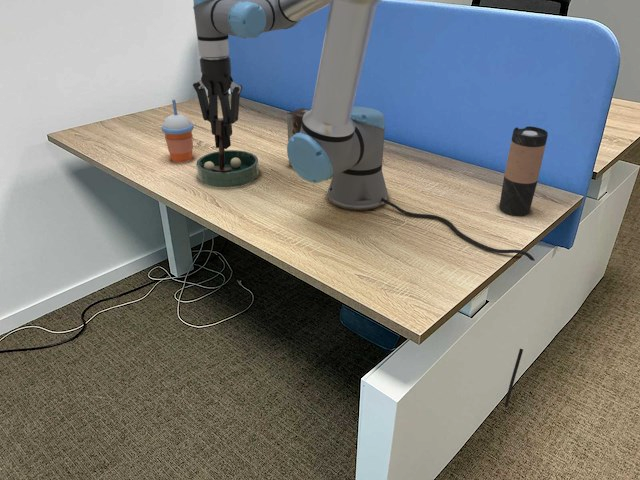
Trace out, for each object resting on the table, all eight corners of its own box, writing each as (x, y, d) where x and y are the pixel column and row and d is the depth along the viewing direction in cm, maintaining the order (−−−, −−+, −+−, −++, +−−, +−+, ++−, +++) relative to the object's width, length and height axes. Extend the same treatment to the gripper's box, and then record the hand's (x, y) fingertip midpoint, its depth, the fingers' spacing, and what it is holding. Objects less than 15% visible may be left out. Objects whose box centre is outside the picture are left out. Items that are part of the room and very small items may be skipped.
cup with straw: (190, 166, 152) (181, 105, 143) (161, 164, 154) (151, 103, 145) (202, 155, 160) (195, 96, 151) (174, 153, 162) (166, 94, 152)
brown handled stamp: (234, 174, 146) (234, 118, 140) (226, 179, 142) (225, 122, 135) (218, 172, 147) (217, 116, 141) (208, 176, 143) (207, 119, 137)
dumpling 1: (212, 173, 146) (212, 163, 145) (202, 172, 147) (201, 162, 145) (216, 170, 149) (215, 160, 148) (206, 170, 149) (205, 159, 148)
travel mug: (526, 219, 125) (544, 139, 115) (494, 211, 128) (509, 133, 118) (533, 206, 130) (551, 129, 120) (502, 199, 134) (517, 123, 124)
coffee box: (325, 168, 151) (326, 113, 143) (310, 175, 147) (309, 119, 139) (303, 160, 157) (302, 107, 148) (287, 166, 153) (286, 112, 144)
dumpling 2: (239, 170, 150) (239, 166, 148) (229, 168, 150) (229, 163, 148) (242, 161, 152) (242, 156, 149) (232, 159, 151) (231, 154, 149)
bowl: (271, 174, 148) (270, 159, 145) (227, 194, 136) (225, 178, 134) (230, 160, 157) (229, 145, 154) (185, 178, 146) (183, 162, 143)
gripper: (248, 55, 131) (253, 145, 143) (196, 51, 135) (206, 139, 147) (234, 61, 125) (241, 154, 137) (180, 57, 129) (192, 148, 141)
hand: (223, 146), depth 142 cm, fingers closed on brown handled stamp, 2 cm apart
